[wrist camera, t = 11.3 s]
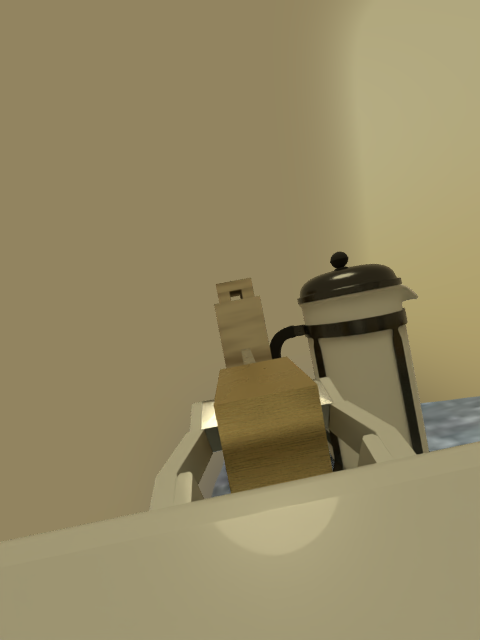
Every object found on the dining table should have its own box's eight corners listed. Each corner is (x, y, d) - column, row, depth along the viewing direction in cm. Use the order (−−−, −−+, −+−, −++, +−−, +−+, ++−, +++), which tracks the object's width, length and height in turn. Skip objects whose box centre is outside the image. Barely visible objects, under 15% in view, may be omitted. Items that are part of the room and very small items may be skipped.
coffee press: (371, 425, 42) (341, 263, 42) (483, 481, 27) (435, 223, 27) (285, 457, 38) (251, 275, 38) (360, 546, 22) (301, 238, 22)
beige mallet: (334, 483, 9) (317, 384, 9) (233, 505, 9) (213, 405, 9) (266, 366, 27) (259, 332, 27) (232, 373, 27) (225, 339, 27)
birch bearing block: (297, 492, 30) (256, 276, 30) (252, 502, 30) (210, 285, 30) (284, 456, 38) (251, 285, 38) (248, 463, 38) (215, 292, 38)
